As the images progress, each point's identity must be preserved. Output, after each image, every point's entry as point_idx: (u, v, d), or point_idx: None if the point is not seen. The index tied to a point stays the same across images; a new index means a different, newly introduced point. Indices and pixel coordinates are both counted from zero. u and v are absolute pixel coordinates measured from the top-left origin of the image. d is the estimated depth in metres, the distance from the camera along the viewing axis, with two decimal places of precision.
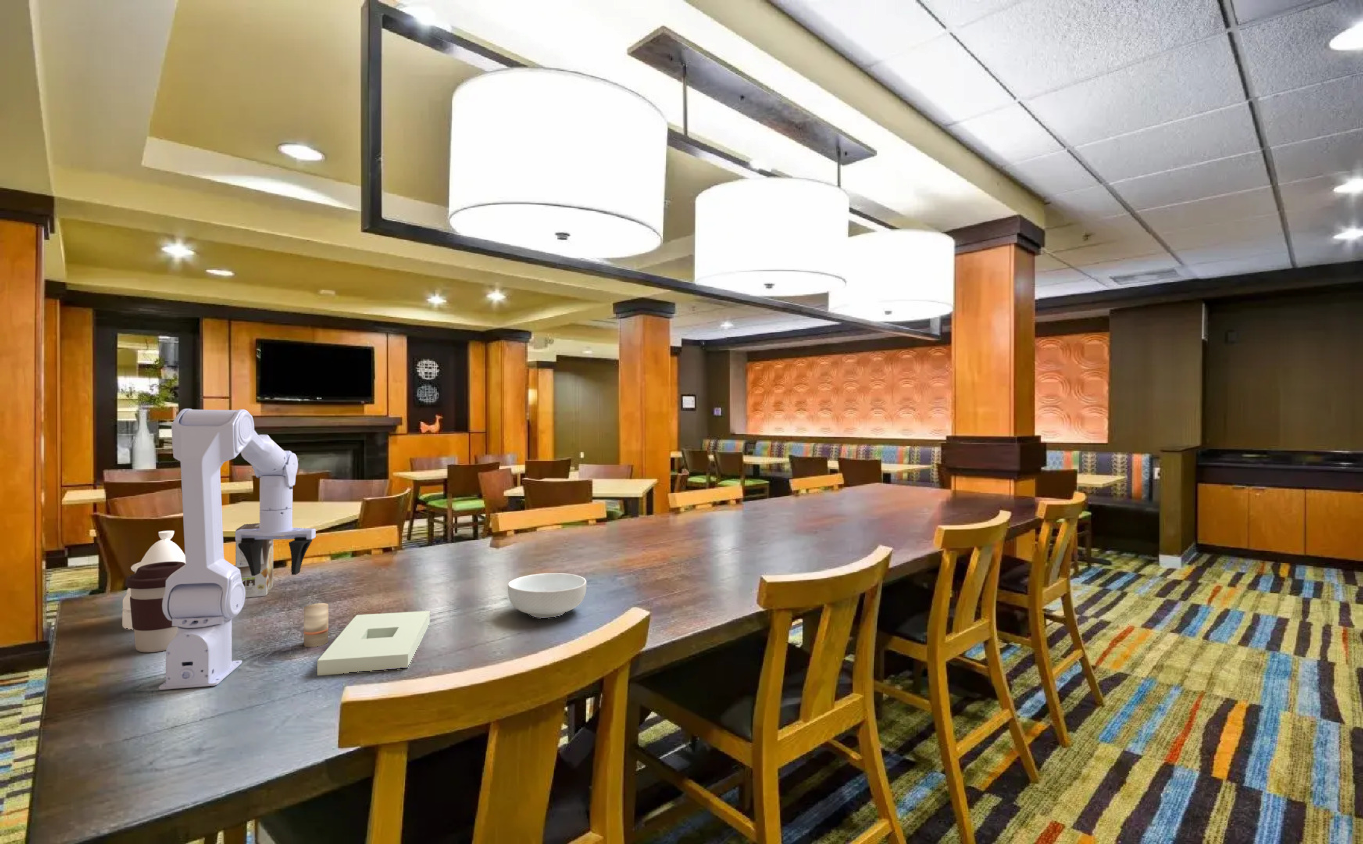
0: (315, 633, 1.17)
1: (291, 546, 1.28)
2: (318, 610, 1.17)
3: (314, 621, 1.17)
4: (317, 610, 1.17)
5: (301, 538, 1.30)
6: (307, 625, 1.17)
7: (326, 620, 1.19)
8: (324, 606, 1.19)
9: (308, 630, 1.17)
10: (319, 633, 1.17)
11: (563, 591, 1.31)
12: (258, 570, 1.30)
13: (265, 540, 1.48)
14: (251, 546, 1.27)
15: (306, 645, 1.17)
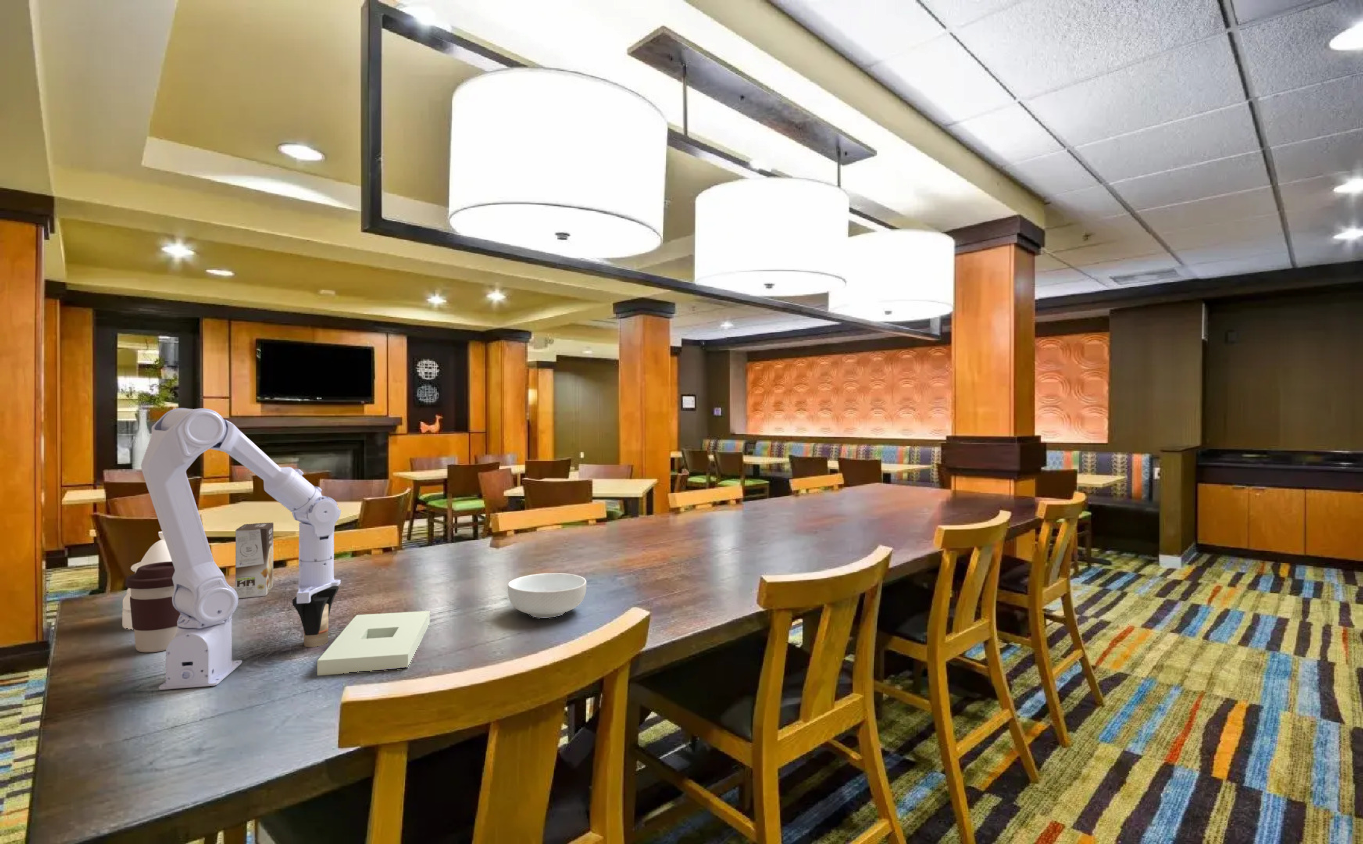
0: None
1: None
2: None
3: None
4: None
5: None
6: None
7: (326, 620, 1.19)
8: None
9: None
10: (319, 633, 1.17)
11: (563, 591, 1.31)
12: None
13: (265, 540, 1.48)
14: None
15: (306, 645, 1.17)
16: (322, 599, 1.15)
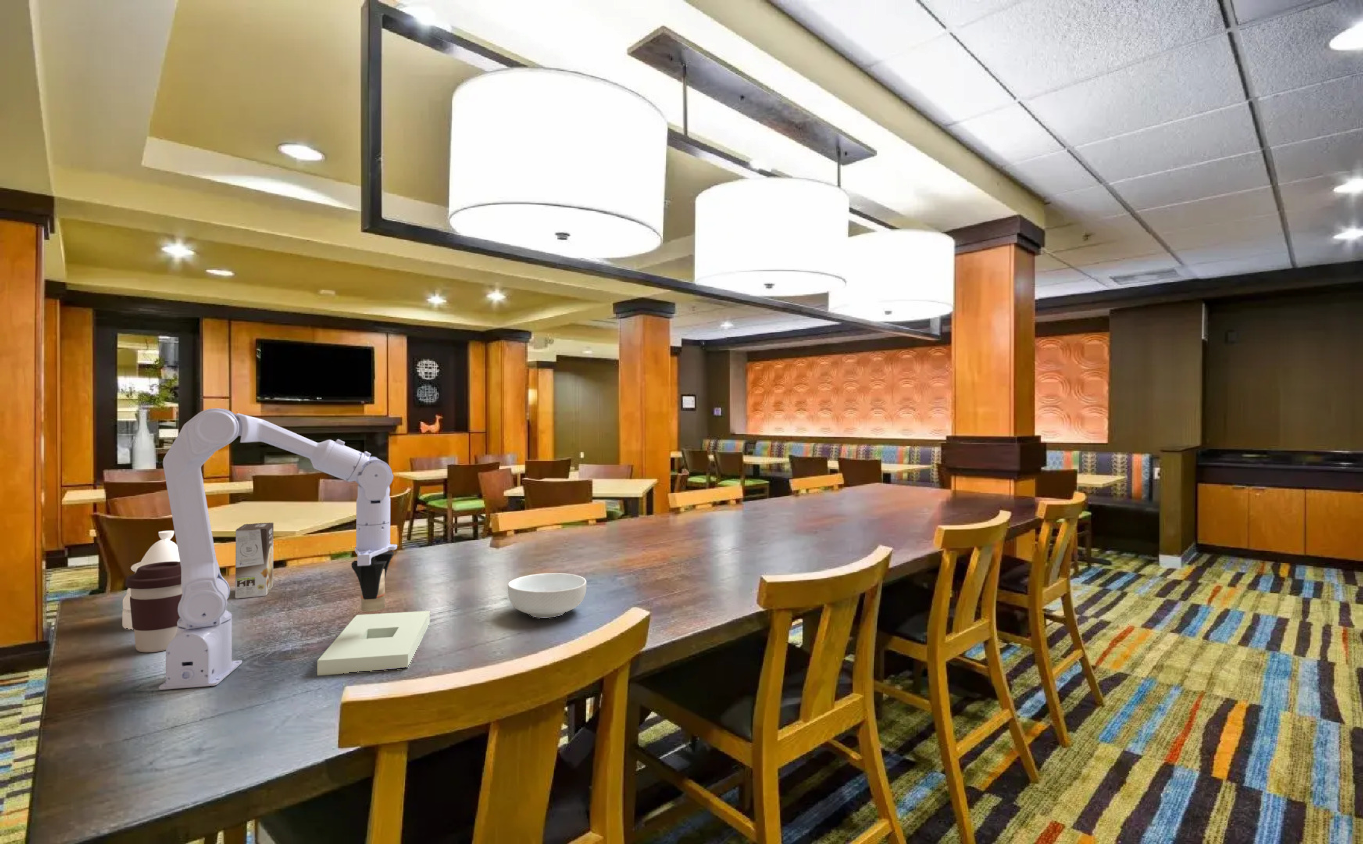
0: None
1: None
2: None
3: None
4: None
5: None
6: None
7: (383, 585, 1.17)
8: None
9: None
10: None
11: (563, 591, 1.31)
12: None
13: (265, 540, 1.48)
14: None
15: (363, 609, 1.16)
16: (381, 562, 1.14)
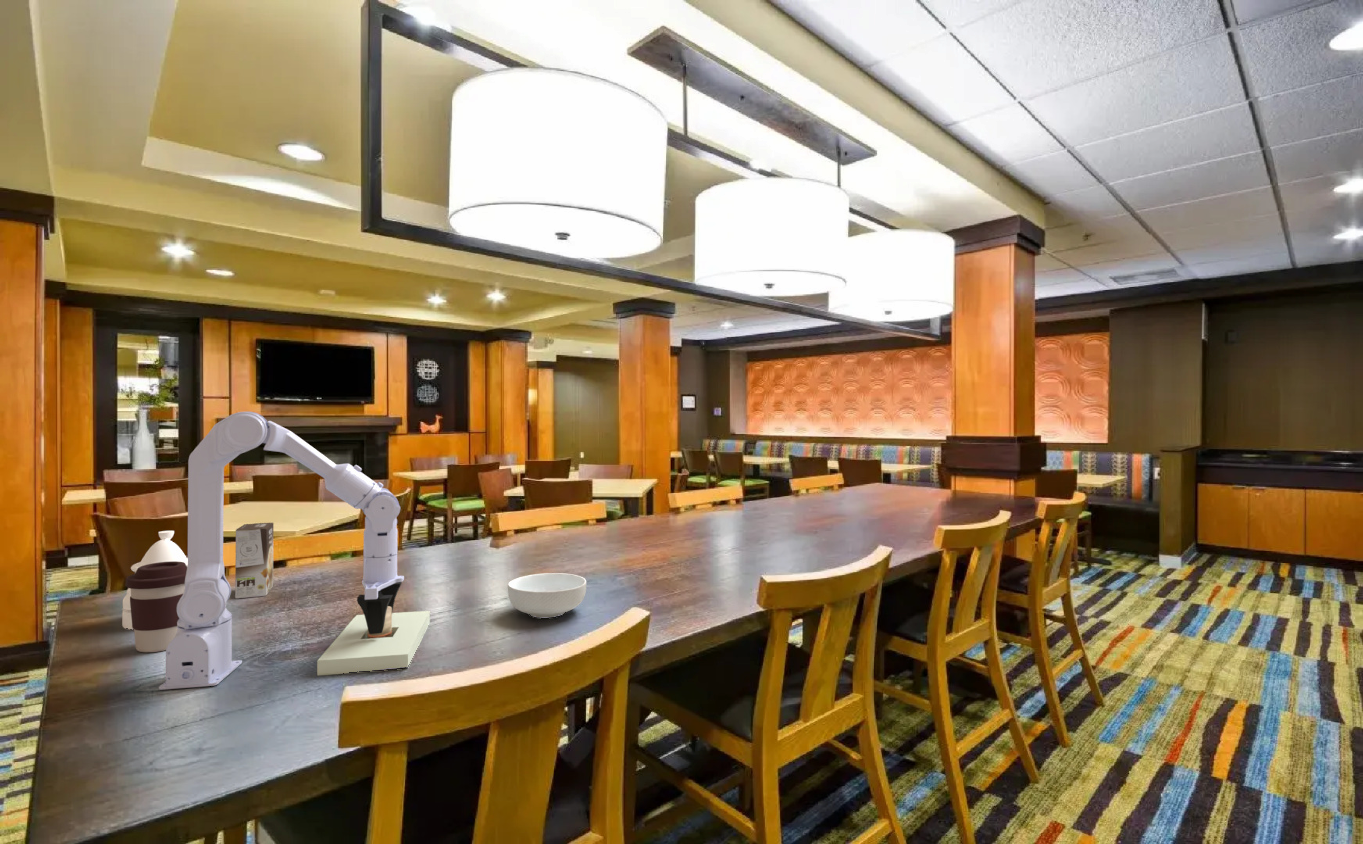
0: (379, 636, 1.16)
1: None
2: None
3: None
4: None
5: None
6: None
7: (390, 623, 1.17)
8: (388, 609, 1.17)
9: None
10: (383, 636, 1.16)
11: (563, 591, 1.31)
12: None
13: (265, 540, 1.48)
14: None
15: None
16: (387, 597, 1.13)
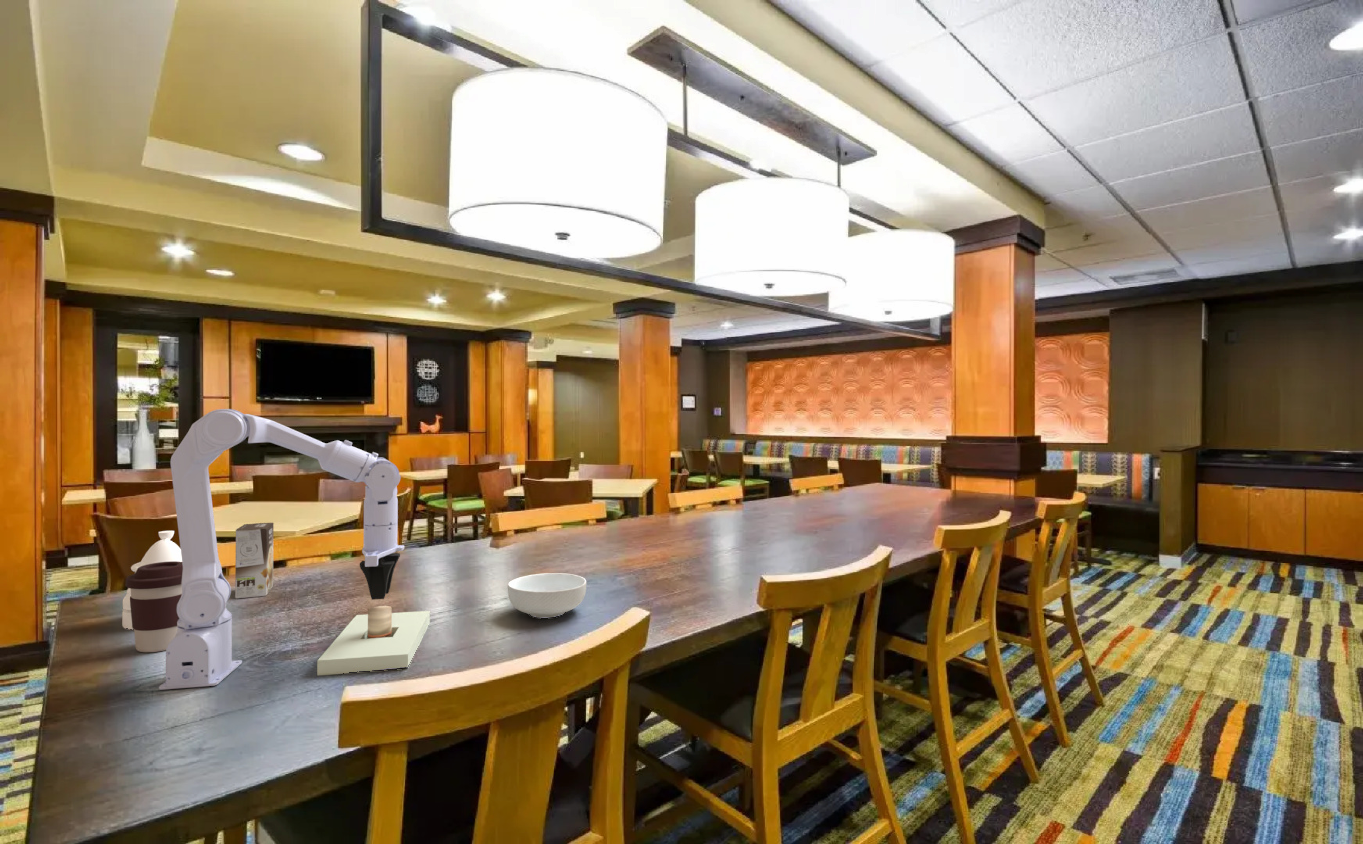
0: (379, 636, 1.16)
1: None
2: (382, 613, 1.16)
3: (378, 624, 1.16)
4: (381, 613, 1.16)
5: None
6: (371, 628, 1.16)
7: (390, 623, 1.17)
8: (388, 609, 1.17)
9: (372, 633, 1.16)
10: (383, 636, 1.16)
11: (563, 591, 1.31)
12: None
13: (265, 540, 1.48)
14: None
15: None
16: (389, 563, 1.15)
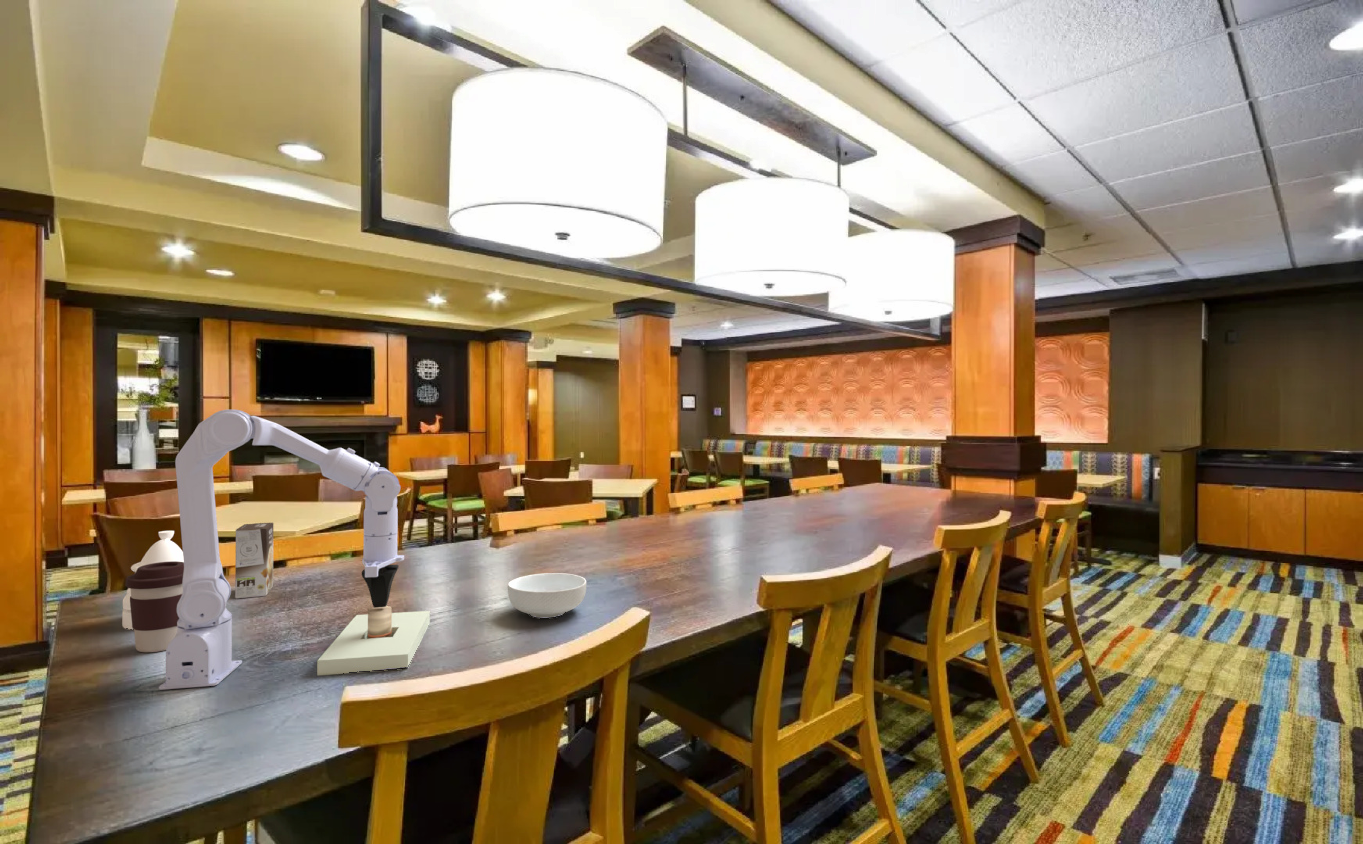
0: (379, 636, 1.16)
1: None
2: (382, 613, 1.16)
3: (378, 624, 1.16)
4: (381, 613, 1.16)
5: None
6: (371, 628, 1.16)
7: (390, 623, 1.17)
8: (388, 609, 1.17)
9: (372, 633, 1.16)
10: (383, 636, 1.16)
11: (563, 591, 1.31)
12: None
13: (265, 540, 1.48)
14: None
15: None
16: (390, 571, 1.16)
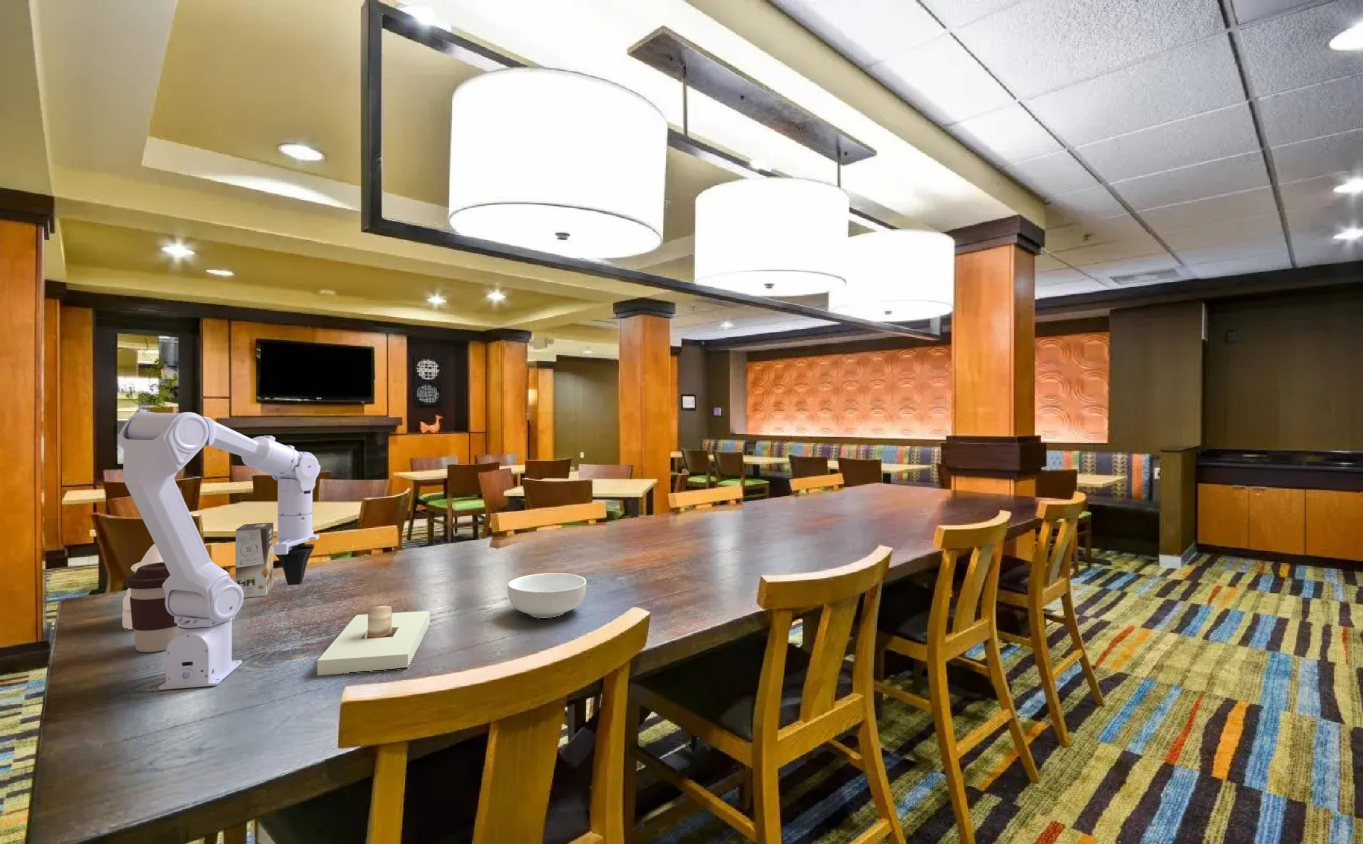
0: (379, 636, 1.16)
1: None
2: (382, 613, 1.16)
3: (378, 624, 1.16)
4: (381, 613, 1.16)
5: None
6: (371, 628, 1.16)
7: (390, 623, 1.17)
8: (388, 609, 1.17)
9: (372, 633, 1.16)
10: (383, 636, 1.16)
11: (563, 591, 1.31)
12: None
13: (265, 540, 1.48)
14: None
15: None
16: (304, 550, 1.20)
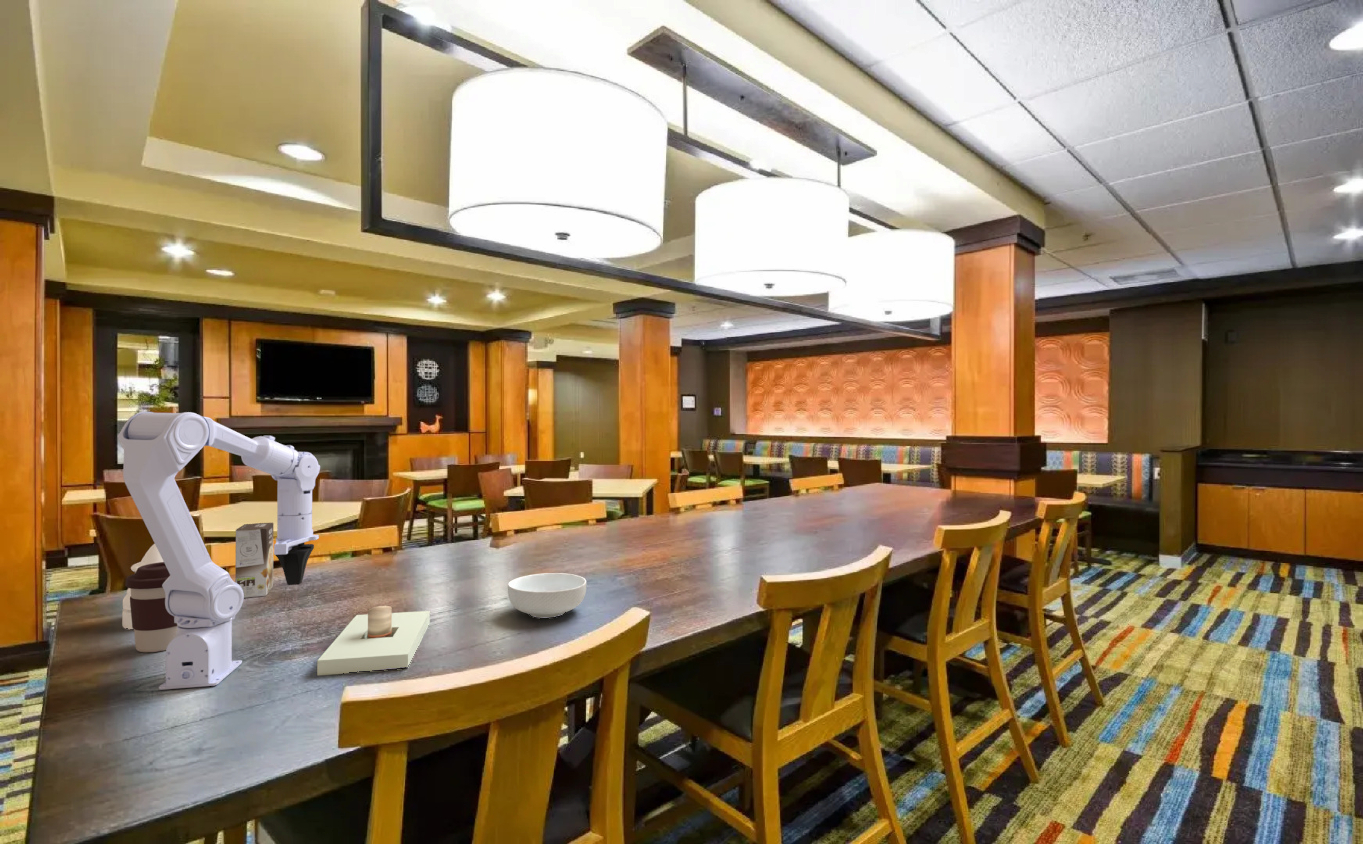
0: (379, 636, 1.16)
1: None
2: (382, 613, 1.16)
3: (378, 624, 1.16)
4: (381, 613, 1.16)
5: None
6: (371, 628, 1.16)
7: (390, 623, 1.17)
8: (388, 609, 1.17)
9: (372, 633, 1.16)
10: (383, 636, 1.16)
11: (563, 591, 1.31)
12: None
13: (265, 540, 1.48)
14: None
15: None
16: (303, 550, 1.20)
